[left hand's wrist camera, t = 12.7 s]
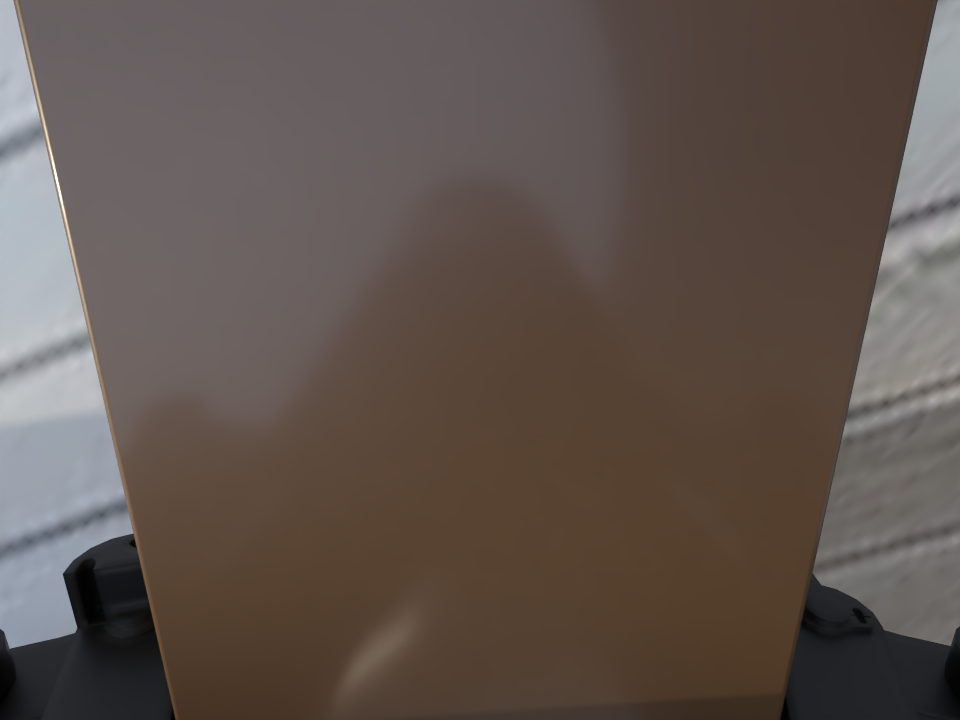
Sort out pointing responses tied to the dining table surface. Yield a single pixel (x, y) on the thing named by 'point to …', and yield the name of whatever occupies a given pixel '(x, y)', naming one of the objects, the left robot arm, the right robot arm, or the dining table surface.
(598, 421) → the bar
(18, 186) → the dining table surface
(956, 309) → the dining table surface
